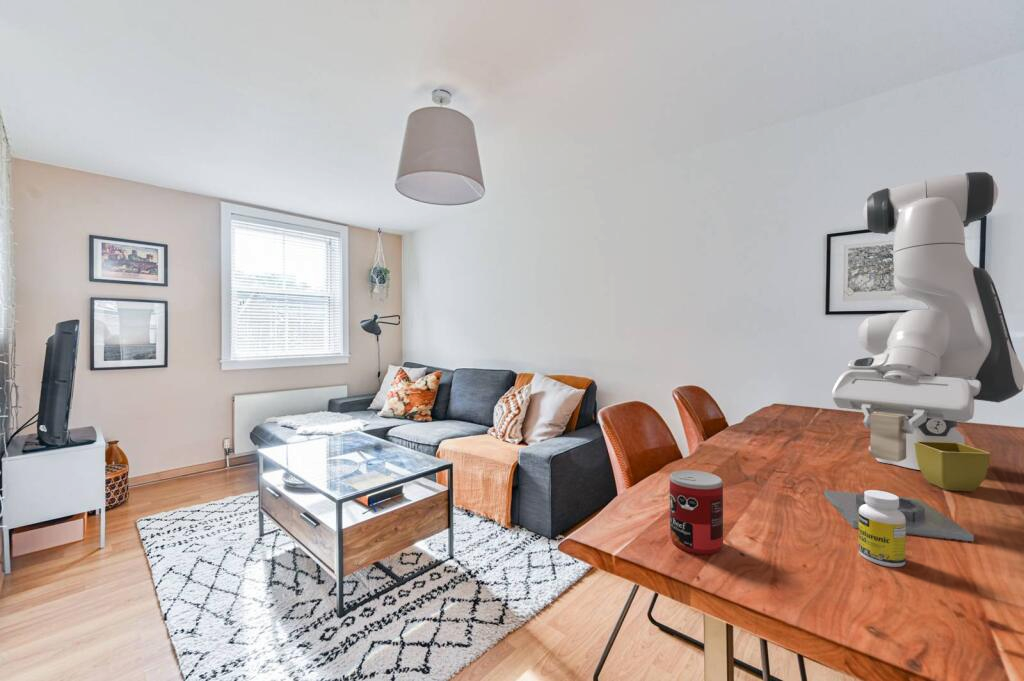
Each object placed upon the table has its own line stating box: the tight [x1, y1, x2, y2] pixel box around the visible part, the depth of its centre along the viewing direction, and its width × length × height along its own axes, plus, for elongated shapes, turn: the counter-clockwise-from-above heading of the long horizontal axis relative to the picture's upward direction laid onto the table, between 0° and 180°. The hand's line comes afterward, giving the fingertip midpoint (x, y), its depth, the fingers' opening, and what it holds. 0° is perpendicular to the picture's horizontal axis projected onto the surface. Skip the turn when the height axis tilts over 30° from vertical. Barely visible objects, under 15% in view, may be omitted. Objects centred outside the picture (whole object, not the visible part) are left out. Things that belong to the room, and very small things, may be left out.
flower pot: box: [914, 441, 992, 492], centre depth 94 cm, size 9×9×9 cm
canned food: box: [669, 469, 724, 555], centre depth 70 cm, size 8×8×11 cm
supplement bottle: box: [858, 489, 907, 568], centre depth 65 cm, size 5×5×10 cm
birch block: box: [869, 412, 906, 462], centre depth 80 cm, size 4×4×8 cm
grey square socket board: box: [823, 489, 975, 543], centre depth 80 cm, size 16×16×3 cm
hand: (886, 428), depth 79 cm, fingers closed on birch block, 4 cm apart
